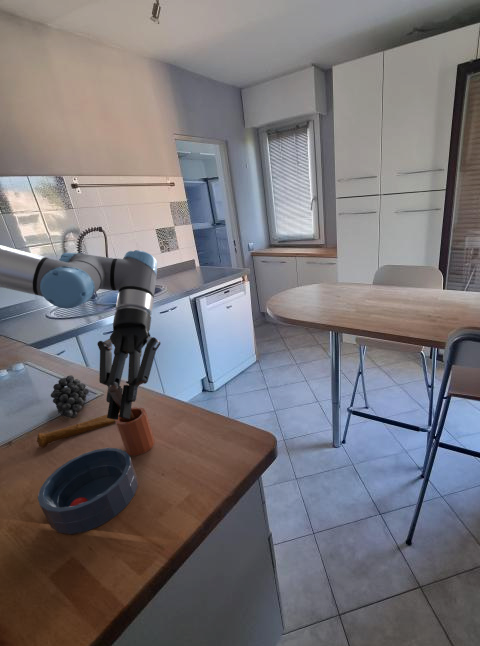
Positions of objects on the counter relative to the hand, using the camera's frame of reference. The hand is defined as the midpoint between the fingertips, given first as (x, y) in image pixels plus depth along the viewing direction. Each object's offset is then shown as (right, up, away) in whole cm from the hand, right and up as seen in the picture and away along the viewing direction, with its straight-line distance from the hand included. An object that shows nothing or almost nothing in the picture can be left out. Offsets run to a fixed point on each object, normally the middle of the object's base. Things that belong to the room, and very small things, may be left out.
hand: (118, 418), depth 68 cm
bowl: (-2, -14, -5) cm, 15 cm away
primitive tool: (-16, -7, +16) cm, 24 cm away
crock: (+1, -9, +8) cm, 12 cm away
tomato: (-2, -14, -8) cm, 16 cm away
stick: (+1, -7, +8) cm, 10 cm away
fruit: (-26, -4, +24) cm, 36 cm away
